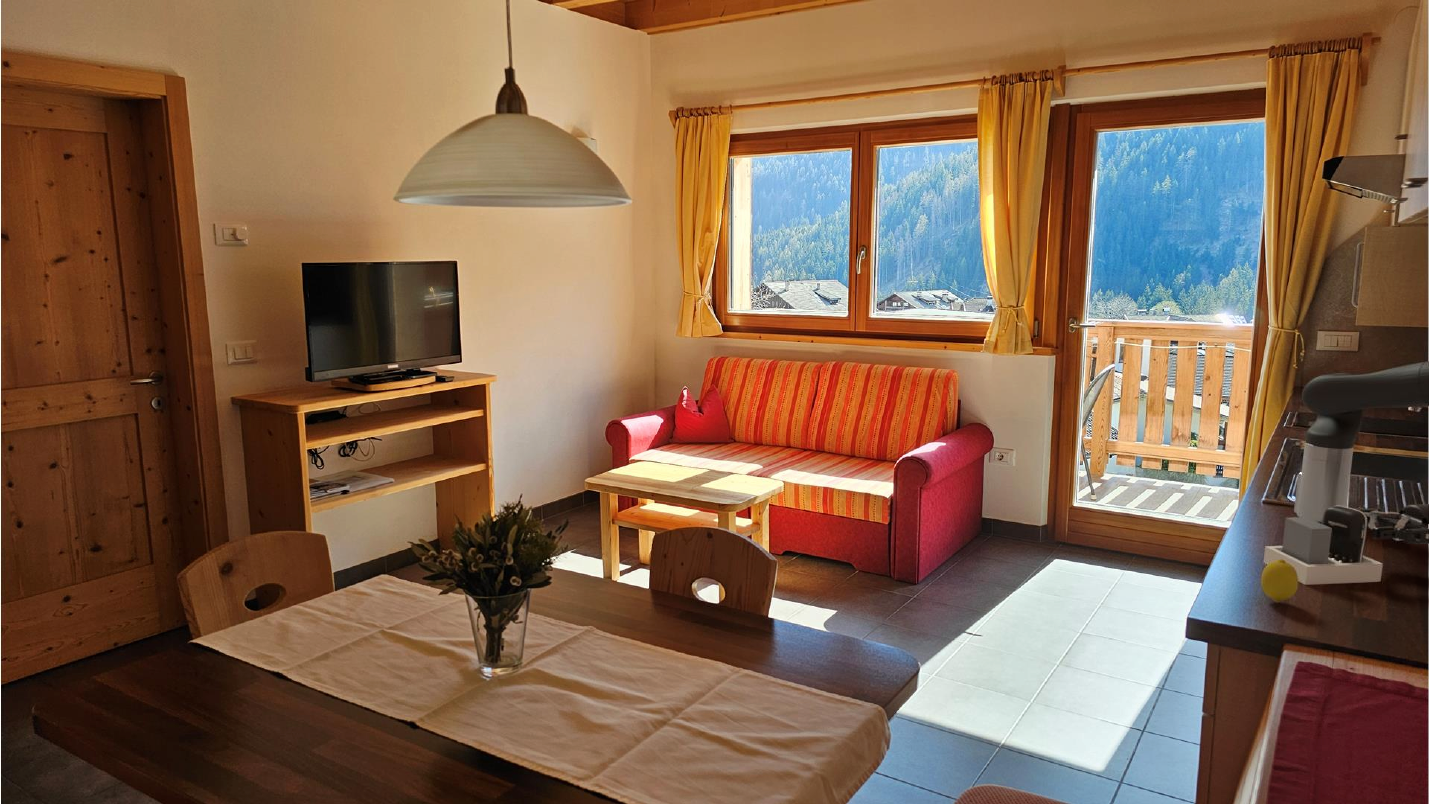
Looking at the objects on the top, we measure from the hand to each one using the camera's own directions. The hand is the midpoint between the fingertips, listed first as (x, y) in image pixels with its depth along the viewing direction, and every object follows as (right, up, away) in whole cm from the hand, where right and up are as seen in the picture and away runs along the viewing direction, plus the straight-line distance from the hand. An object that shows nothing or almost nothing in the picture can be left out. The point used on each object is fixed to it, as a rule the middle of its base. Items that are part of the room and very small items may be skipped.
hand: (1356, 526), depth 180 cm
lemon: (-24, -12, -14) cm, 30 cm away
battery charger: (-3, -8, +1) cm, 8 cm away
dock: (-6, -9, +1) cm, 11 cm away
